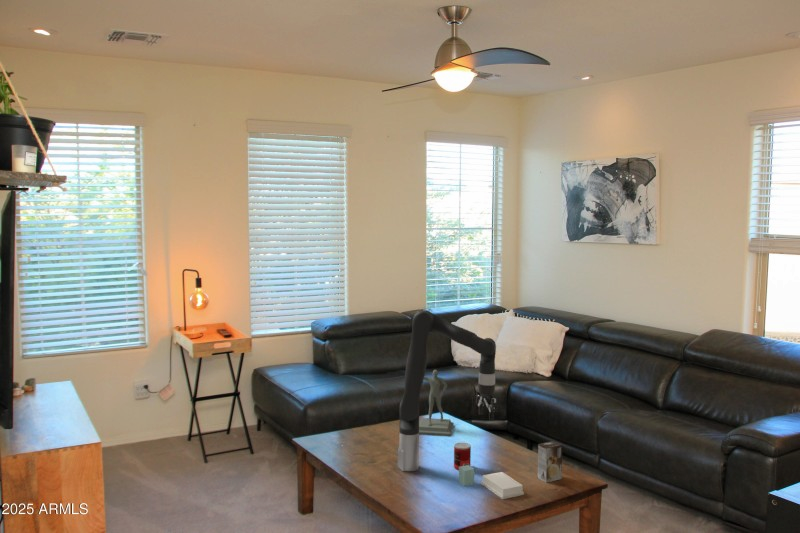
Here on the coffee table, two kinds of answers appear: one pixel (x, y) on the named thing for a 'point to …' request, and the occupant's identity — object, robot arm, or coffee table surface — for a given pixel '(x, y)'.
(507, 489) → the plinth
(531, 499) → the coffee table surface
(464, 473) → the block
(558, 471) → the coffee box
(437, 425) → the statue
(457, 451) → the canned food
